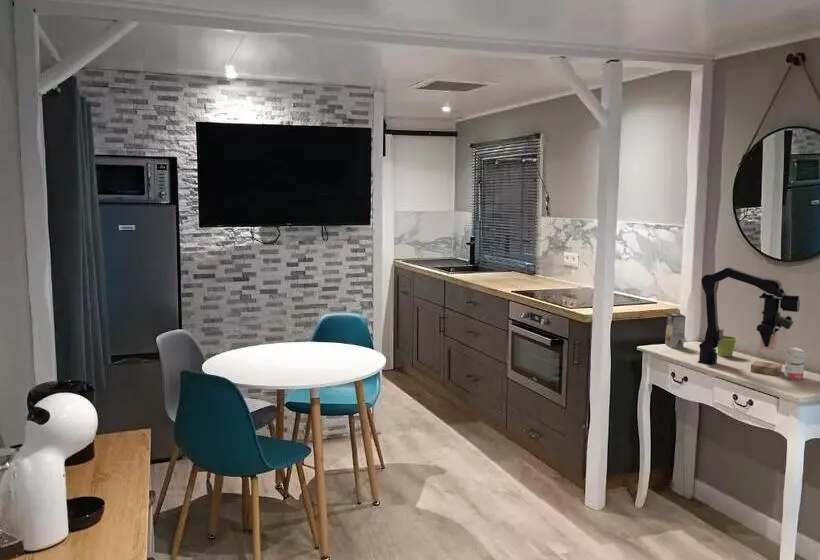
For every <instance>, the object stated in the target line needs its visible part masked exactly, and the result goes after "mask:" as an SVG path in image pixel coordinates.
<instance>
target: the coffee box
mask: <svg viewBox="0 0 820 560" xmlns="http://www.w3.org/2000/svg"><path fill="white" fill-rule="evenodd" d="M665 324H666V325H665V340H664V343H665V346H667V347H669V348H671V349H684V345H685V344H684V343H685V330H686V328H685V327H686V316H685V315H684V314H681V313H679V312H678V313H677V312H676V313H675V312H667V313H666V323H665Z"/></svg>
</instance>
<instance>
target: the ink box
mask: <svg viewBox="0 0 820 560" xmlns="http://www.w3.org/2000/svg"><path fill="white" fill-rule="evenodd" d="M806 355H807V352H806V351H805V350H803V349H801V348H799V347H793V346H792V347H790V346H787V348H786V356H785V363H784V372H783V373H784V376H785V377H787V378H788V379H790V380H796V381H797V380H798V381H803V379H804V372H805V371H804V370H805V362H806Z"/></svg>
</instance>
